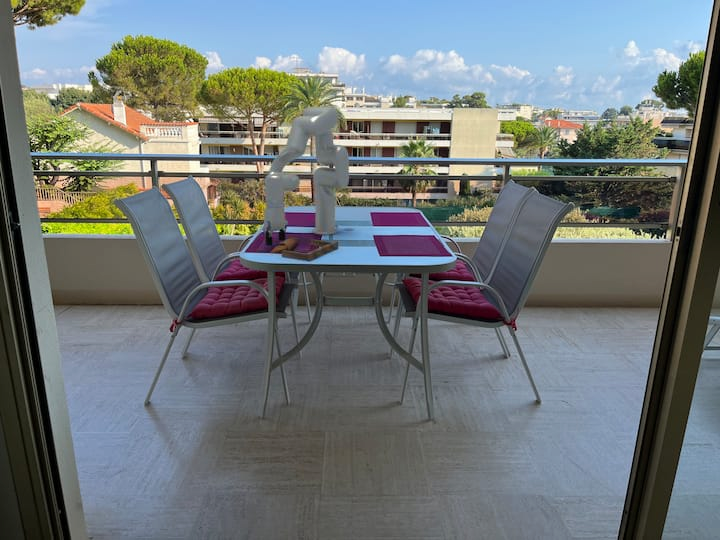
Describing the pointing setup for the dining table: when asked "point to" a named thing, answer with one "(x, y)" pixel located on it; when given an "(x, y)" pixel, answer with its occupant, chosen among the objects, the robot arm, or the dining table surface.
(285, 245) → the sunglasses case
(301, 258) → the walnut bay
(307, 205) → the dining table surface
